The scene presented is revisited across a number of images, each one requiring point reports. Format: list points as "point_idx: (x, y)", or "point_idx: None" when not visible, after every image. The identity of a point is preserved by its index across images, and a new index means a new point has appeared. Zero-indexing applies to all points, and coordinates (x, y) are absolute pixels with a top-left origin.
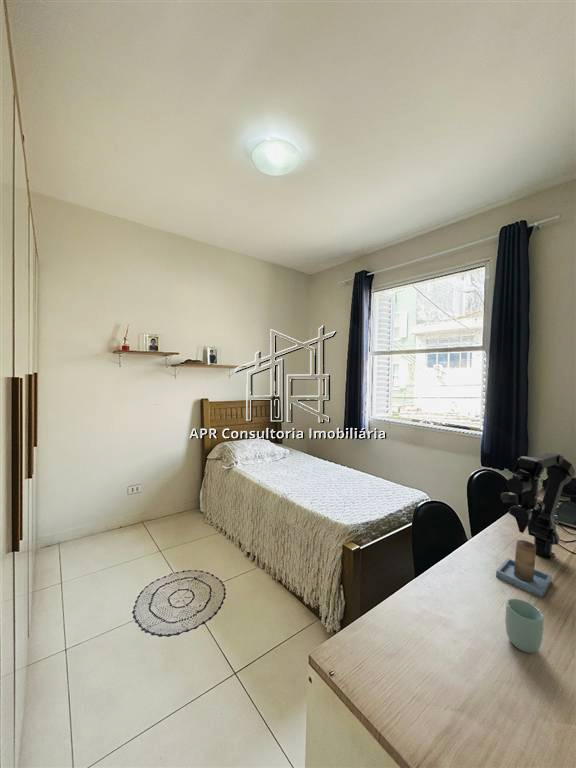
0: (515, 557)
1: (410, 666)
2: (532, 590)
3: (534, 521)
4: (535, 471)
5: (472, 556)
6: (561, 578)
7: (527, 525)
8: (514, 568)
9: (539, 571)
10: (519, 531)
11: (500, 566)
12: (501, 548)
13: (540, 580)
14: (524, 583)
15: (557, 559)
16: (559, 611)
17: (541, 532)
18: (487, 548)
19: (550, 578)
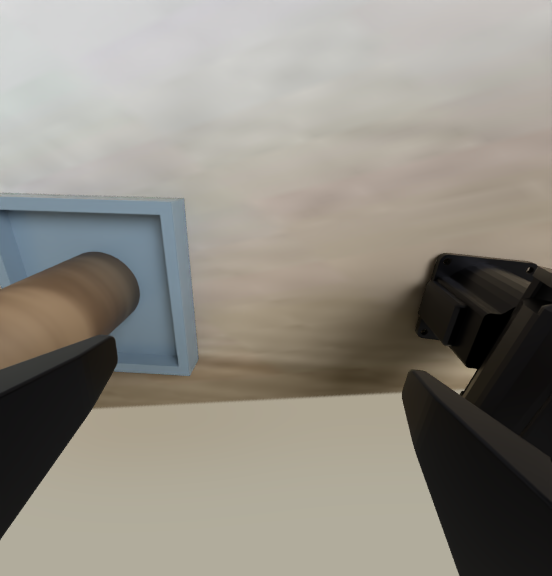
0: (2, 288)
1: None
2: None
3: (431, 495)
4: None
5: (55, 7)
6: (267, 380)
7: (11, 509)
8: (60, 263)
9: (180, 338)
10: (96, 336)
11: (32, 198)
12: (348, 115)
13: (147, 338)
14: None
15: (449, 354)
16: None
17: (479, 402)
18: (264, 41)
19: (168, 373)
